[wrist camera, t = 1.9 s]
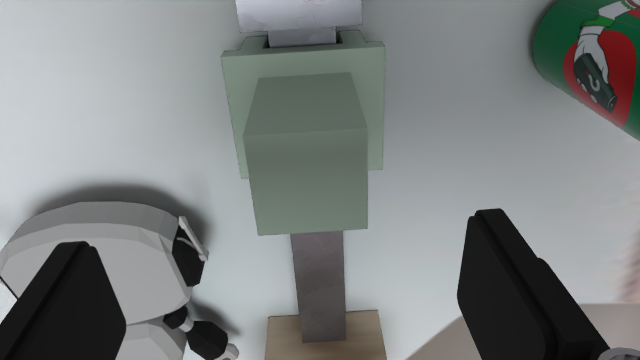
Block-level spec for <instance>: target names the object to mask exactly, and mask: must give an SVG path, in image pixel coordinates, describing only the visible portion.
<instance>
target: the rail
mask: <svg viewBox="0 0 640 360" xmlns="http://www.w3.org/2000/svg"><path fill="white" fill-rule="evenodd" d="M236 7H237V14H238V21H239V28H240V32H255V31H268V36H269V45H270V48H282V47H298V46H313V45H329V44H336V26H351V25H362V0H236ZM290 235H291V244H292V253H293V262H294V271H295V280H296V289H297V298H298V307H299V316H300V325H301V334H302V343H315V342H331V341H346V314H345V285H344V256H343V230H340V231H325V232H309V233H293V234H290Z"/></svg>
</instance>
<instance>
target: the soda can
mask: <svg viewBox="0 0 640 360" xmlns="http://www.w3.org/2000/svg"><path fill="white" fill-rule="evenodd" d="M533 59H534V63H535V66H536V68H537V70H538V72H539V73H540V75H541V76H542V77H543V78H544V79H546V80H547V81H549V82H550V83H552V84H553V85H555V86H556V87H558V88H559V89H561V90H562V91H564V92H565V93H567V94H568V95H570V96H571V97H573V98H574V99H576V100H578V101H579V102H581V103H582V104H584V105H585V106H587V107H588V108H590V109H591V110H593V111H594V112H596V113H597V114H599V115H600V116H602V117H603V118H605V119H606V120H608V121H609V122H611V123H613V124H614V125H616V126H617V127H619V128H620V129H622V130H623V131H625V132H626V133H628V134H629V135H631V136H632V137H634V138H635V139H637V140H638V141H640V0H558V1H557V2H556V3H555V4H554V5H553V6H552V7H551V8H550V9H549V10H548V12H547V13H546V14H545V16H544V17H543V19H542V21H541V22H540V24H539V26H538V29H537V31H536V34H535V37H534V42H533Z"/></svg>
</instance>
